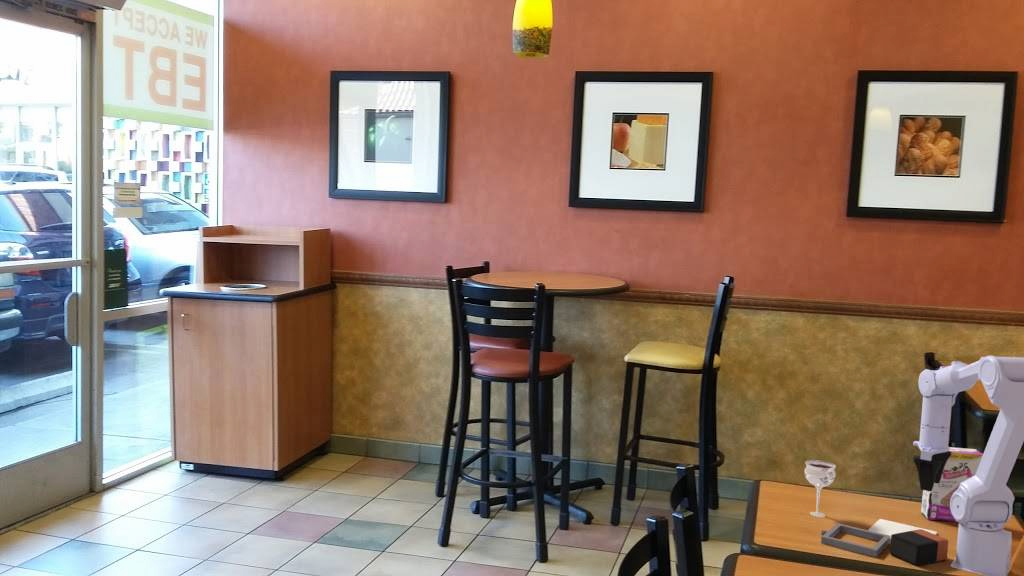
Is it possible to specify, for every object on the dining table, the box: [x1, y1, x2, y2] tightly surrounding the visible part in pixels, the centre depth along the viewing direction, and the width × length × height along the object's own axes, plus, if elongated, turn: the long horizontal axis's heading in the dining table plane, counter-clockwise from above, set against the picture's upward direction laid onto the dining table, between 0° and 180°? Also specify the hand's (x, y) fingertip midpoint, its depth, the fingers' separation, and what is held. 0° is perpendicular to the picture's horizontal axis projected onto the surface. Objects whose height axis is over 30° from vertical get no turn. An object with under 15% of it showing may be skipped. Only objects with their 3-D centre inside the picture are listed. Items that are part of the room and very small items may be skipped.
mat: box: [868, 518, 938, 541], centre depth 192 cm, size 12×12×1 cm
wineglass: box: [803, 459, 837, 518], centre depth 202 cm, size 7×7×12 cm
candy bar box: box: [920, 446, 984, 523], centre depth 203 cm, size 11×5×16 cm, turn 84°
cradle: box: [820, 523, 891, 558], centre depth 186 cm, size 12×11×2 cm
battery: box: [889, 529, 949, 566], centre depth 179 cm, size 4×7×10 cm
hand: (930, 486), depth 193 cm, fingers open, 7 cm apart
